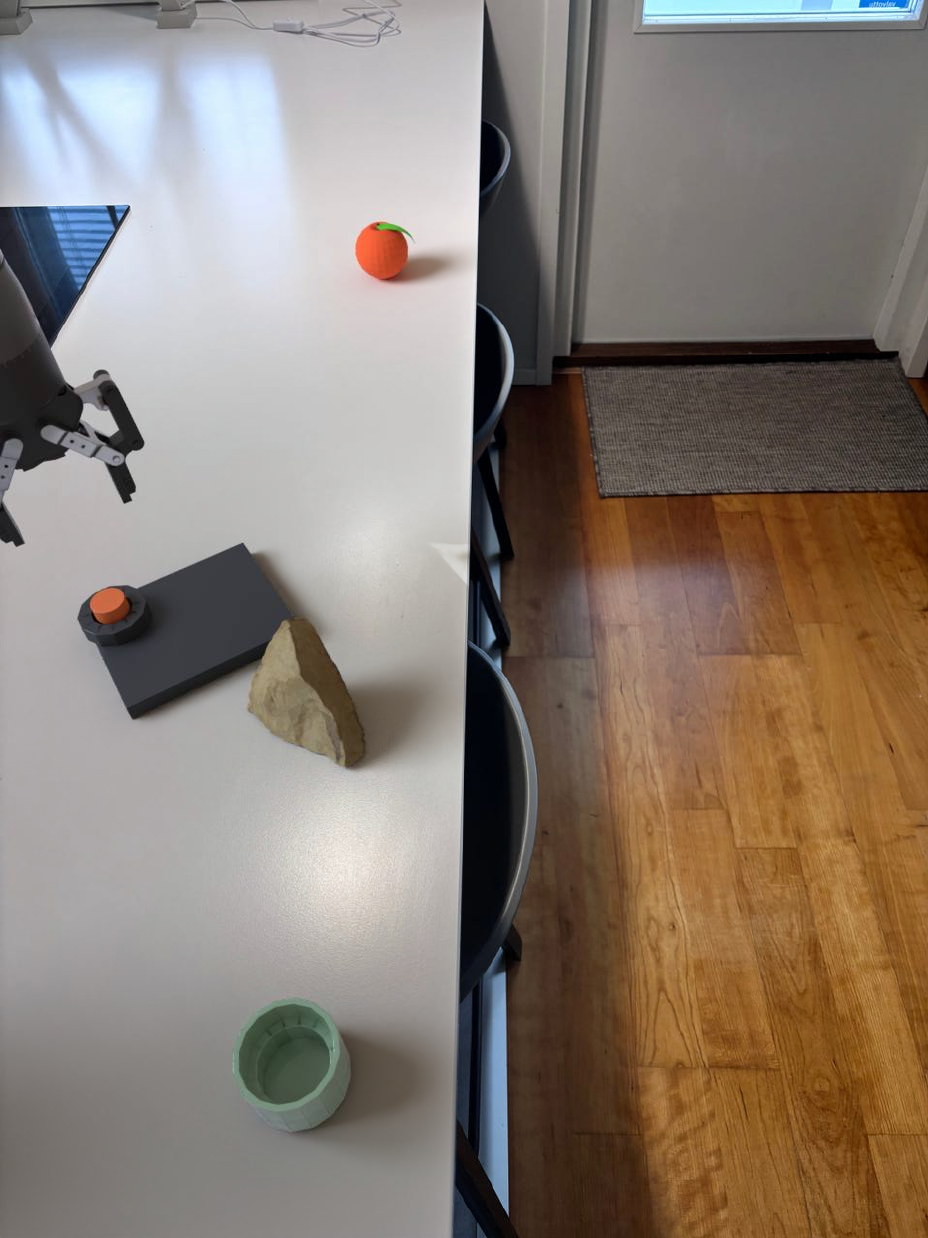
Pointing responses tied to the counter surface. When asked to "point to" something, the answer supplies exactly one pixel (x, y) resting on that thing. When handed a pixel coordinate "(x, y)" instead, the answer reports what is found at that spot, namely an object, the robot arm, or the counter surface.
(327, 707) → the rock
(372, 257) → the clementine
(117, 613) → the button
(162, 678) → the scale
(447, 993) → the counter surface
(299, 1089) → the bowl
